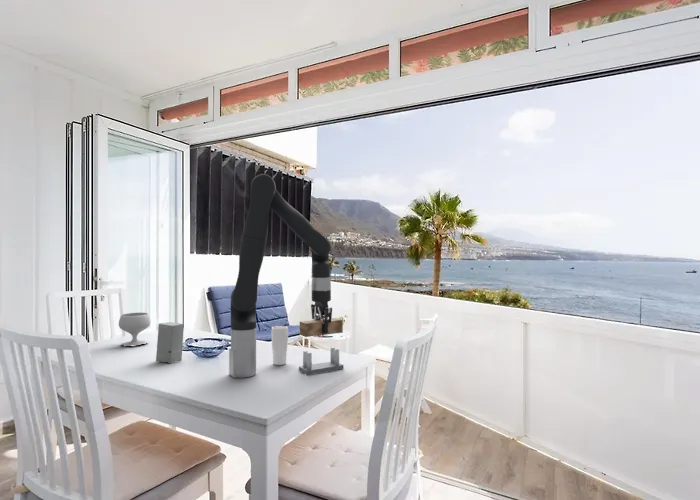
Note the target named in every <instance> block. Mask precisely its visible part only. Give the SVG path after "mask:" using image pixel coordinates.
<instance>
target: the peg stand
mask: <svg viewBox="0 0 700 500" xmlns="http://www.w3.org/2000/svg"><path fill="white" fill-rule="evenodd" d="M312 362H313V361H312V352H309V351H308V350H303V351H302V365H300V366H298V371H300V372H301V373H303V374H304V375H306V376H308V375H314V374H320V373H327V372H333V371H339V370H344V366H345V365H344V364H342V363H341V362H340V349H339V348H336V347H335V346H331V347H330V361H328V362H327V361H326V362H320V363H314V364H313V363H312Z"/></svg>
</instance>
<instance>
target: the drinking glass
mask: <svg viewBox="0 0 700 500" xmlns="http://www.w3.org/2000/svg"><path fill="white" fill-rule="evenodd" d="M270 337H271V348H272V349H271V350H272V362H273V363H272V364H273V365H275V366H283V365H286V364H287V355H288V353H287V351H288V343H289V327H288V326H286V325H276V326H271V335H270Z"/></svg>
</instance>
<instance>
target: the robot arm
mask: <svg viewBox="0 0 700 500" xmlns="http://www.w3.org/2000/svg"><path fill="white" fill-rule="evenodd" d="M248 206H249V208H248V211H247V212H248V213H247V215H246V218H245V222H244V226H243V231H242V234H241V240H240V246H239V256H238V260H239V261H238V262H239V263H238V274H237V278H236V282H235V286H234V289H233V290H232V291H231V295H230V348H229V349H228V350H229V351H228V352H229V353H228V374H229V375H230V376H231V378H233V379H235V378H236V379H237V378H239V379H242V378H249V377H253V376H255V375H256V374H257V314H256V313H257V311H256V309H257V308H256V304H257V301H258V287H259V286H258V285H259V276H260V272H261V268H262V264H263V261H264V257H265V253H266V252H265V251H266V246H267V241H268V233H269V232H268V231H269V214H270V209H271V211H273V213H275V214H276V215H277V216H278V217H279V218H280V219H281V220H282V221H283V223H285V224H286V226H287V227H289V228H290V230H291V231H292V232H293V233H294V234H295V235H296V236H297V237H298V238H299V239H300V240H302V241H304V242H305V243H306V245H307V246H308V247H309V248H310V249H311V251H310V252H311V260H312V267H311V271H312V272H311V278H312V279H311V302H314V303H312V304H310V308H311V309H310V310H311V319H312V320H322V333H323V334H327V333H328V324H329V323H331V318H332V316H333V307H332V306H331V307H329V304H328V303H329V302H331V300H332V295H331V294H332V286H331V285H332V281H331V266H330V261H329V253H330V252H331V249H332V245H331V242H330V240H329V239H328V238H326V236H324V235H323V234H322V233H321V232H320V231H319V230H317V229H316V227H314V226H313V224H312V223H311V222H310V221H309V220H308V219H307V218H306V217H305V216H304V215H303V214H301V213H300V212H299V211H298V210H297V209H295V208H294V207H293V206H292V205H290V204H289V202H287V201H286V200H285V199H284V198H283V196H282V195H281V194H280V192H279V191H278V190H277V188H276V182H275V180H274V179H273V178H272V176H270V175H269V174H265V173H261V174H258V175H256V176H255V177H254V178H253V179H252V180H251V183H250V199H249V205H248ZM327 335H328V334H327Z"/></svg>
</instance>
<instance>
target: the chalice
mask: <svg viewBox="0 0 700 500" xmlns="http://www.w3.org/2000/svg"><path fill="white" fill-rule="evenodd" d="M150 326H151V317H150V315H149V313H148V312H130V313H124V314H123V313H122V314H121V315H120V317H119V321H118V327H119V329H120V330H122V331H123V332H126V333H128V334H130V335H131V336H132V339H131V340H130V341H127V342H123V343H120V346H121V345H125V346H124V347H126V346H131V345H140V344H145V345H147V344H148V343H147V342H148V341H147V340H139V339H138V335H139V334H140V333H141V332H143V331H145V330H147V328H149V327H150ZM146 341H147V342H146ZM146 343H147V344H146Z"/></svg>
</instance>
